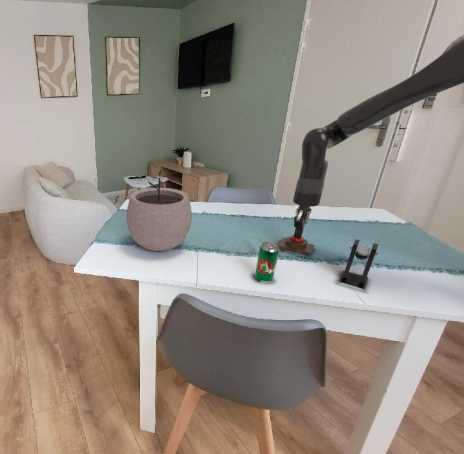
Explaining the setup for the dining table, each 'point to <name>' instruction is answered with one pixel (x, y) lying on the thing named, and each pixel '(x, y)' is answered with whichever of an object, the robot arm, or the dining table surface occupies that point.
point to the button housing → (295, 246)
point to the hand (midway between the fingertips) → (297, 236)
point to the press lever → (362, 252)
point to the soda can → (266, 261)
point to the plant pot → (159, 217)
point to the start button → (297, 239)
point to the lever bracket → (358, 279)
